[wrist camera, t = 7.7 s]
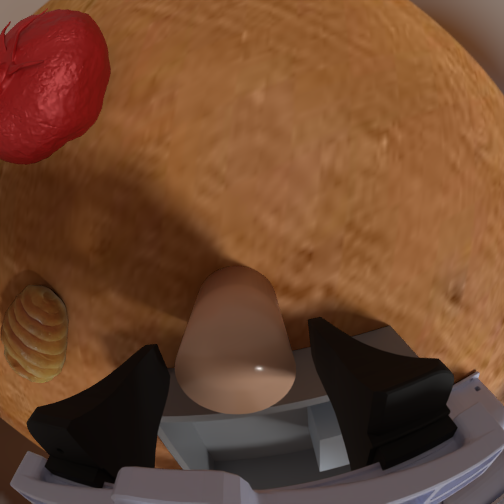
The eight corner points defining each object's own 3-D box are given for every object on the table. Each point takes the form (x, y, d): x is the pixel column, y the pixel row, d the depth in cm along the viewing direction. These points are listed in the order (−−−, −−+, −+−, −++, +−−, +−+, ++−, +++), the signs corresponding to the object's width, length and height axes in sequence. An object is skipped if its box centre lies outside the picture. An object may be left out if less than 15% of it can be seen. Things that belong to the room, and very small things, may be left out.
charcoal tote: (389, 325, 18) (423, 362, 13) (375, 428, 22) (392, 462, 17) (162, 369, 18) (145, 416, 14) (210, 459, 22) (207, 498, 17)
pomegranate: (129, 18, 12) (76, -57, 3) (128, 144, 15) (30, 116, 5) (24, 66, 12) (-48, 37, 3) (19, 180, 14) (-75, 192, 5)
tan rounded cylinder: (269, 259, 17) (288, 313, 10) (281, 329, 18) (300, 404, 11) (188, 273, 17) (158, 334, 10) (208, 342, 18) (195, 418, 11)
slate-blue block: (367, 375, 19) (391, 418, 14) (362, 413, 20) (380, 453, 15) (305, 390, 19) (319, 440, 14) (308, 427, 20) (319, 471, 15)
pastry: (29, 259, 16) (-1, 275, 12) (88, 314, 17) (64, 340, 14) (12, 332, 18) (-10, 351, 14) (61, 377, 19) (44, 401, 15)
